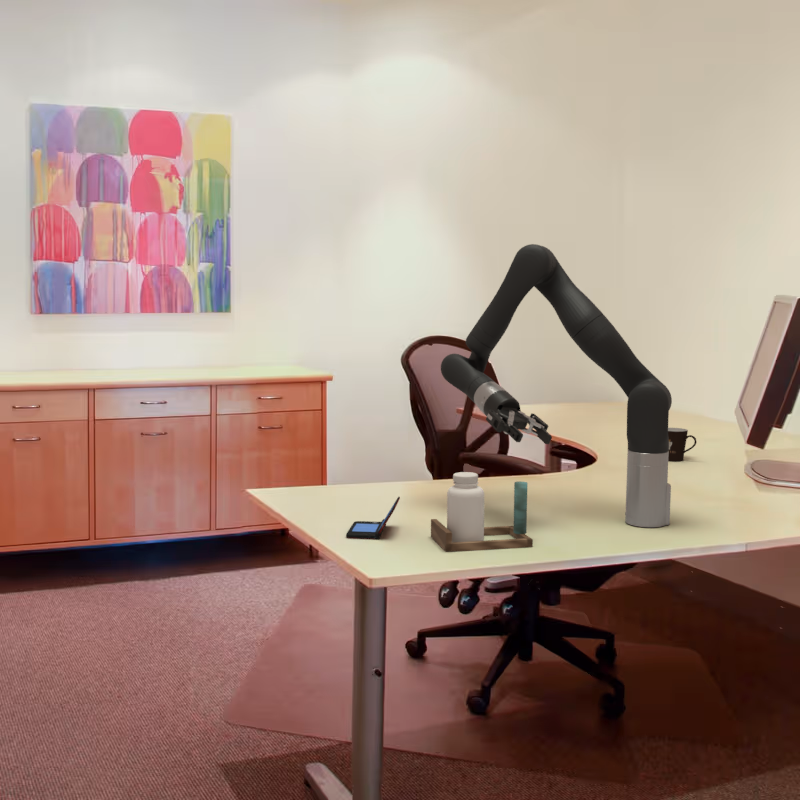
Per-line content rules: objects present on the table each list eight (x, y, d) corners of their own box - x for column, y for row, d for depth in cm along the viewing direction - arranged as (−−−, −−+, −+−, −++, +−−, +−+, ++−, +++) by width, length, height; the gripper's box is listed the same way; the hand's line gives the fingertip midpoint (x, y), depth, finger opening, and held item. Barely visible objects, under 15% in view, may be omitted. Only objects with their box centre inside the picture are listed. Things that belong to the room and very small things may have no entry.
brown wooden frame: (516, 532, 211) (517, 477, 210) (536, 546, 199) (537, 488, 198) (430, 537, 207) (431, 480, 205) (446, 551, 195) (446, 492, 193)
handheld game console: (354, 525, 218) (354, 494, 217) (400, 527, 216) (400, 495, 216) (344, 539, 205) (344, 506, 204) (393, 541, 204) (394, 507, 203)
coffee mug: (653, 458, 309) (654, 428, 307) (676, 457, 311) (677, 427, 310) (674, 464, 298) (675, 433, 296) (697, 463, 300) (699, 432, 299)
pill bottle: (438, 542, 202) (439, 473, 200) (463, 536, 208) (464, 469, 206) (466, 550, 197) (467, 479, 195) (491, 543, 202) (492, 474, 200)
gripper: (478, 387, 215) (517, 423, 203) (525, 392, 223) (565, 427, 211) (466, 415, 218) (504, 452, 206) (513, 419, 226) (552, 455, 214)
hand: (535, 439), depth 209 cm, fingers open, 8 cm apart
